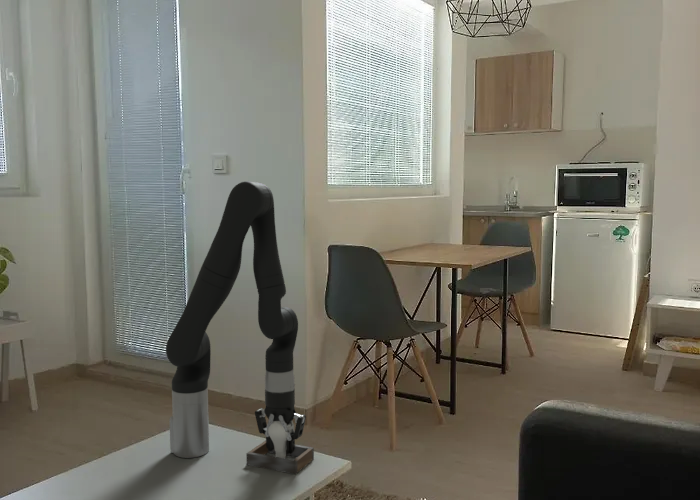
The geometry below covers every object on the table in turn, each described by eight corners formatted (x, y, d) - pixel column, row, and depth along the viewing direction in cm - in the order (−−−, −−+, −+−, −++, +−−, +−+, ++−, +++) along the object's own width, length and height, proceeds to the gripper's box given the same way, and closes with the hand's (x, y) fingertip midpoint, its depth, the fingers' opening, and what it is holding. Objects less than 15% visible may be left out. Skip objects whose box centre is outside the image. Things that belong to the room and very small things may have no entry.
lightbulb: (289, 465, 171) (288, 423, 170) (265, 464, 172) (264, 421, 171) (295, 456, 177) (294, 415, 176) (273, 454, 178) (272, 413, 177)
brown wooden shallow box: (246, 464, 173) (246, 453, 172) (266, 450, 182) (266, 439, 181) (295, 474, 167) (295, 462, 167) (313, 458, 176) (313, 447, 176)
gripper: (247, 387, 172) (248, 452, 174) (298, 394, 166) (298, 461, 168) (262, 379, 179) (263, 442, 180) (311, 385, 173) (312, 450, 175)
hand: (280, 451), depth 174 cm, fingers closed on lightbulb, 5 cm apart
